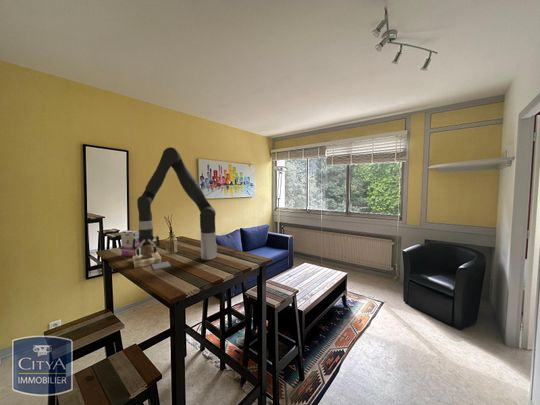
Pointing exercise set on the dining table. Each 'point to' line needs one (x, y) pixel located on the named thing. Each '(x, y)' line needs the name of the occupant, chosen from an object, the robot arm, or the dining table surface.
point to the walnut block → (146, 251)
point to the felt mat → (161, 265)
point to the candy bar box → (129, 243)
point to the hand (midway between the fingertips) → (146, 253)
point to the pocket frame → (146, 260)
